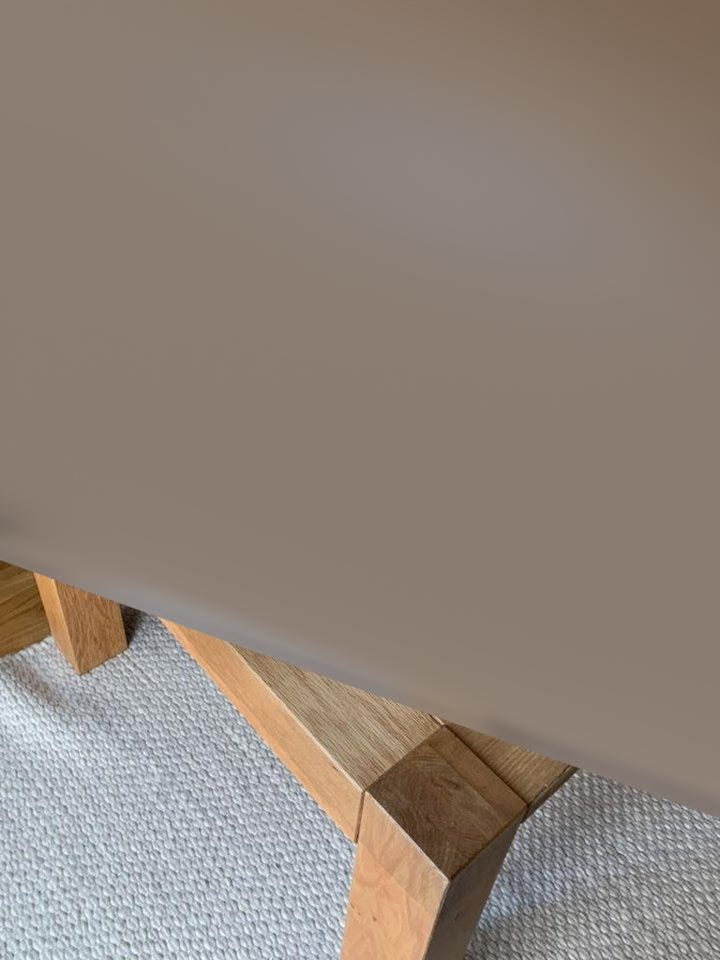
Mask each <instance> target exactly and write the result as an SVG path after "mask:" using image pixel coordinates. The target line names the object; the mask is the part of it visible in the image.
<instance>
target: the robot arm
mask: <svg viewBox="0 0 720 960" xmlns="http://www.w3.org/2000/svg"><path fill="white" fill-rule="evenodd" d="M0 562H4V563H7V564H10V565H13V566H15V567H18V568H20V569H24V570H27V571H29V572H32V573H34V574H37V575H40V576H43V577H46V578H49V579H52V580H54V581H57V582H60V583H63V584H64V585H65V584H66V585H68V586H71V587H73V588H76V589H79V590H82V591H84V592H87V593H90V594H93V595H96V596H99V597H101V598H104V599H107V600H110V601H113V602H115V603H118V604H121V605H124V606H126V607H130V608H132V609H134V610H138V611H141V612H143V613H146V614H149V615H152V616H154V617H158V618H160V619H163V620H166V621H168V622H171V623H174V624H176V625H180V626H181V627H182V626H183V627H185V628H188V629H190V630H194V631H196V632H199V633H202V634H204V635H207V636H209V637H213V638H215V639H219V640H222V641H224V642H227V643H230V644H233V645H234V646H238V647H241V648H244V649H247V650H249V651H252V652H255V653H258V654H260V655H262V656H266V657H269V658H271V659H274V660H276V661H279V662H283V663H285V664H288V665H291V666H293V667H296V668H299V669H302V670H305V671H308V672H310V673H313V674H315V675H319V676H321V677H323V678H327V679H330V680H333V681H335V682H338V683H340V684H343V685H347V686H349V687H351V688H355V689H356V690H357V689H358V690H360V691H364V692H366V693H368V694H372V695H375V696H377V697H379V698H383V699H386V700H387V701H391V702H394V703H397V704H399V705H401V706H402V705H403V706H404V707H408V708H410V709H414V710H416V711H419V712H422V713H425V714H427V715H430V716H433V717H436V718H438V719H441V720H444V721H447V722H449V723H451V724H455V725H458V726H461V727H464V728H467V729H468V730H472V731H475V732H477V733H480V734H483V735H485V736H489V737H491V738H494V739H497V740H499V741H502V742H505V743H508V744H511V745H512V746H513V745H514V746H517V747H519V748H521V749H525V750H528V751H530V752H533V753H535V754H538V755H542V756H544V757H548V758H550V759H553V760H556V761H558V762H561V763H563V764H566V765H570V766H572V767H575V768H578V769H580V770H583V771H586V772H589V773H592V774H594V775H597V776H600V777H603V778H604V779H605V778H606V779H608V780H611V781H613V782H616V783H619V784H622V785H624V786H626V787H627V786H628V787H630V788H633V789H636V790H639V791H642V792H645V793H647V794H650V795H652V796H655V797H658V798H661V799H664V800H667V801H670V802H672V803H674V804H677V805H681V806H684V807H686V808H689V809H691V810H694V811H698V812H700V813H702V814H706V815H709V816H711V817H714V818H716V819H720V0H0Z"/></svg>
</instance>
